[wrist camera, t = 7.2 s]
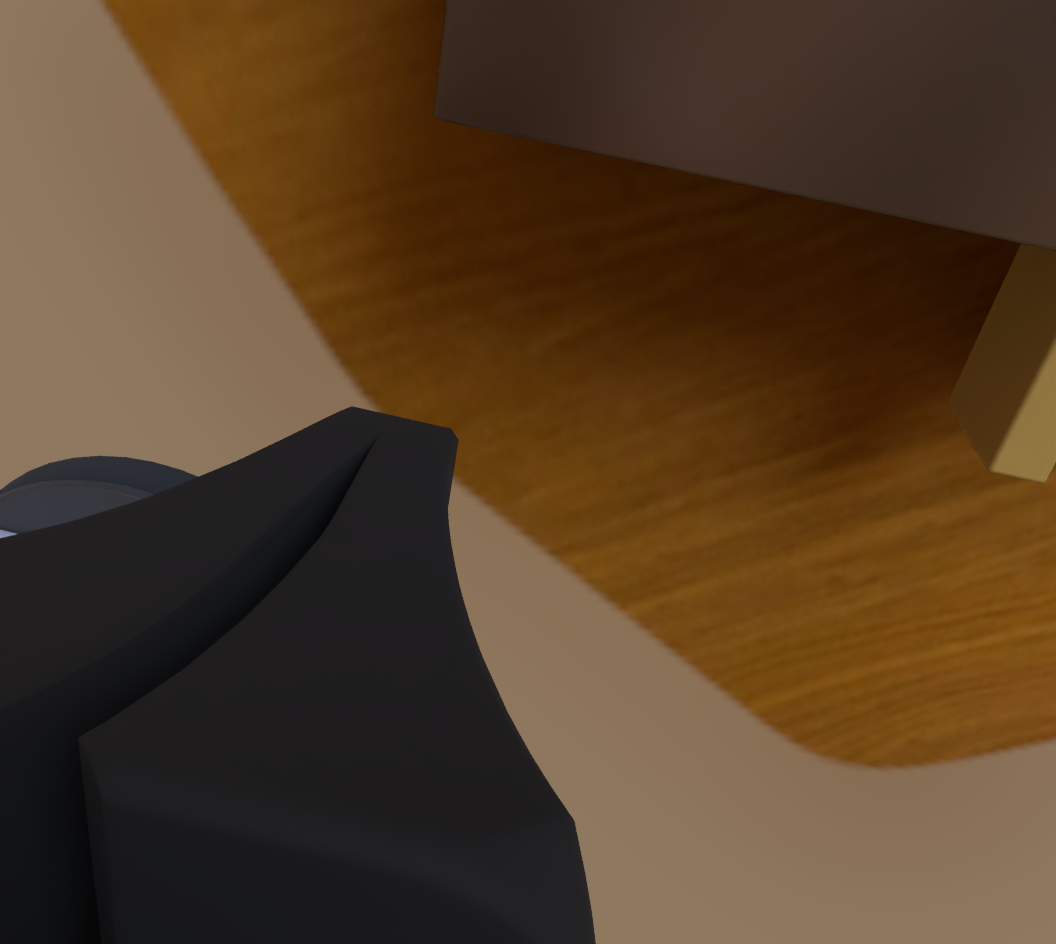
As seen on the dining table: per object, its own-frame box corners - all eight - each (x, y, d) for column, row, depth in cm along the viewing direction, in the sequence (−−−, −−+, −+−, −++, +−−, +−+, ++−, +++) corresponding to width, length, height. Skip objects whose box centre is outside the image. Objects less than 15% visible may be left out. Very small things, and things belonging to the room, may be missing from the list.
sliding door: (792, 350, 19) (818, 436, 15) (873, 121, 17) (925, 161, 13) (1115, 421, 19) (1216, 524, 15) (1243, 199, 16) (1396, 261, 13)
